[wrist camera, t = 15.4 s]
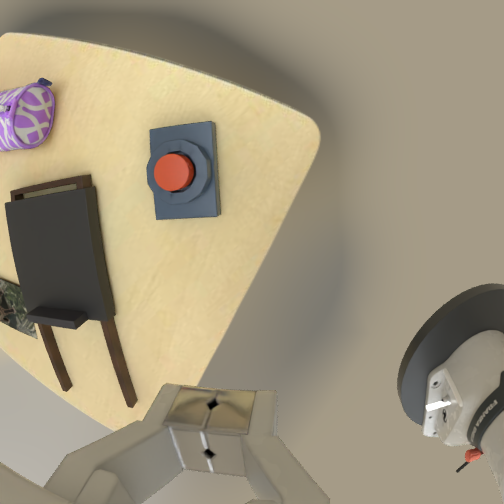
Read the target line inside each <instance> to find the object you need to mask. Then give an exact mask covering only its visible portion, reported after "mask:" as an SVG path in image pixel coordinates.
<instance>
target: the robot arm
mask: <svg viewBox="0 0 504 504" xmlns="http://www.w3.org/2000/svg"><path fill="white" fill-rule="evenodd" d="M434 382H435V383H434ZM277 418H278V417H277V391H276V390H257V391H251V390H228V389H215V388H205V387H196V386H188V385H178V384H170V383H166V384H164V385H163V386H162V388H161V389H160V391H159V393H158V395H157V396H156V398H155V400H154V402H153V403H152V405H151V407H150V408H149V410H148V412H147V414H146V415H145V417H144V419H143V421H138V420H137V421H135V422H133V423H131V424H129V425H127V426H125V427H123V428H122V429H120V430H118V431H116V432H114V433H112V434H110V435H108V436H106V437H104V438H102V439H99V440H98V441H95V442H93V443H91V444H89V445H87V446H85V447H83V448H80V449H78V450H76V451H74V452H72V453H70V454H67V455H66V457H65V458H64V459H63V461H62V462H61V463H60V465H59V466H58V468H57V469H56V470H55V472H54V473H53V475H52V476H51V478H50V479H49V480H48V482H47V483H46V485H45V486H44V487H43V488H42V487H41V486H39V485H37V484H35V483H33V482H32V481H30V480H28V479H26V478H25V477H23V476H21V475H20V474H18V473H16V472H15V471H13V470H12V469H10V468H9V467H7V466H6V465H4V464H3V463H1V462H0V504H141V503H143V502H144V501H145V500H147V499H148V498H150V497H151V496H152V495H153V494H155V493H156V492H157V491H158V490H160V489H161V488H163V487H164V486H165V485H166V484H168V483H169V482H170V481H171V480H173V479H174V478H175V477H176V476H177V475H178V474H180V473H181V472H182V471H183V469H185V470H193V471H200V472H209V473H217V474H224V475H232V476H241V477H247V480H248V482H249V484H250V486H251V488H252V489H253V491H254V493H255V495H256V497H257V498H258V500H255V499H252V500H251V501H249V502H247V503H246V504H330V498H329V497H328V496H327V495H326V494H325V493H324V491H323V490H322V489H321V488H320V487H319V486H318V485H317V483H316V482H315V481H314V480H313V479H312V477H311V476H310V475H309V474H308V473H307V471H306V470H305V469H304V468H303V467H302V465H301V464H300V463H299V462H298V461H297V459H296V458H295V457H294V456H293V454H292V453H291V452H290V451H289V449H288V448H287V447H286V446H285V444H284V443H283V442H282V440H281V439H280V438H279V437H278V436H277V423H278V422H277V421H278V419H277ZM422 433H423V434H424V435H426V436H429V437H439V438H440V440H441V442H442V443H444V444H445V445H448V446H458V445H465V444H471V445H473V446H475V447H476V448H475V449H471V450H467V451H466V453H465V458H466V462H465V463H464V464H463V465H462V466H461V467H460V468H458V469H457V470H456V472H459V471H460V470H461V469H463V468H464V467H465V466H466V465H467V464H468V463H470V462H471V461H473V460H477V459H479V458H480V455H482V454H484V455H485V457H486V459H487V462H488V463H489V466H490V468H491V471H492V473H493V475H494V477H495V480H496V482H497V485H498V487H499V491H500V494H501V498H502V503H503V504H504V334H503V333H502V332H500V331H497V330H487V331H483V332H481V333H478V334H476V335H474V336H472V337H471V338H469V339H468V340H466V341H465V342H464V343H463V344H462V345H460V346H459V347H458V348H457V349H456V350H455V351H454V352H453V354H452V355H451V356H450V357H449V358H448V359H447V360H446V361H445V362H444V363H443V364H441V365H440V366H438V367H437V368H435V369H434V370H433V371H431V372H430V374H429V375H428V379H427V390H426V400H425V408H424V416H423V423H422Z"/></svg>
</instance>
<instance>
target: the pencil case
mask: <svg viewBox="0 0 504 504" xmlns="http://www.w3.org/2000/svg"><path fill="white" fill-rule="evenodd" d="M51 85H52V82H50V81H48V80H46V79H44V78H40V79H39V80H38V82H37V83H31V84H28V85H26V86H25V87H19V88H16V89H11V90H6V91H2V92H0V151H10V150H16V149H31V148H35V147H37V146H39V145H40V144H41V143H43V142H44V141H45V139H46V138H47V136H48V135H49V132H50V130H51V128H52V124H53V117H54V109H55V99H54V95H53V93H52V92H51V90H50V89H49V88H48V87H47V86H51Z"/></svg>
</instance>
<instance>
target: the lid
mask: <svg viewBox="0 0 504 504" xmlns="http://www.w3.org/2000/svg"><path fill="white" fill-rule="evenodd" d="M5 209H6V217H7V224H8V230H9V236H10V242H11V247H12V252H13V257H14V262H15V267H16V271H17V275H18V279H19V283H20V287H21V291H22V295H23V298H24V302H25V306H26V309H27V311H29V313H27V314H26V316H27V319H28V322H33V323H39V324H45V325H50V326H56V327H63V328H69V329H77V328H78V327H80V326H81V325H82V324H83V323H84V322H86V321H87V320H88V319H89V320H98V321H107V322H108V321H109V320H110V319H111V318H112V317H113V316H115V315H116V314H115V309H114V305H113V300H112V296H111V291H110V286H109V281H108V276H107V270H106V265H105V259H104V253H103V247H102V241H101V234H100V227H99V219H98V211H97V203H96V193H95V187H88V188H82V189H76V190H70V191H64V192H58V193H53V194H47V195H42V196H37V197H31V198H26V199H22V200H17V201H12V202H7V203H5Z"/></svg>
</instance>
